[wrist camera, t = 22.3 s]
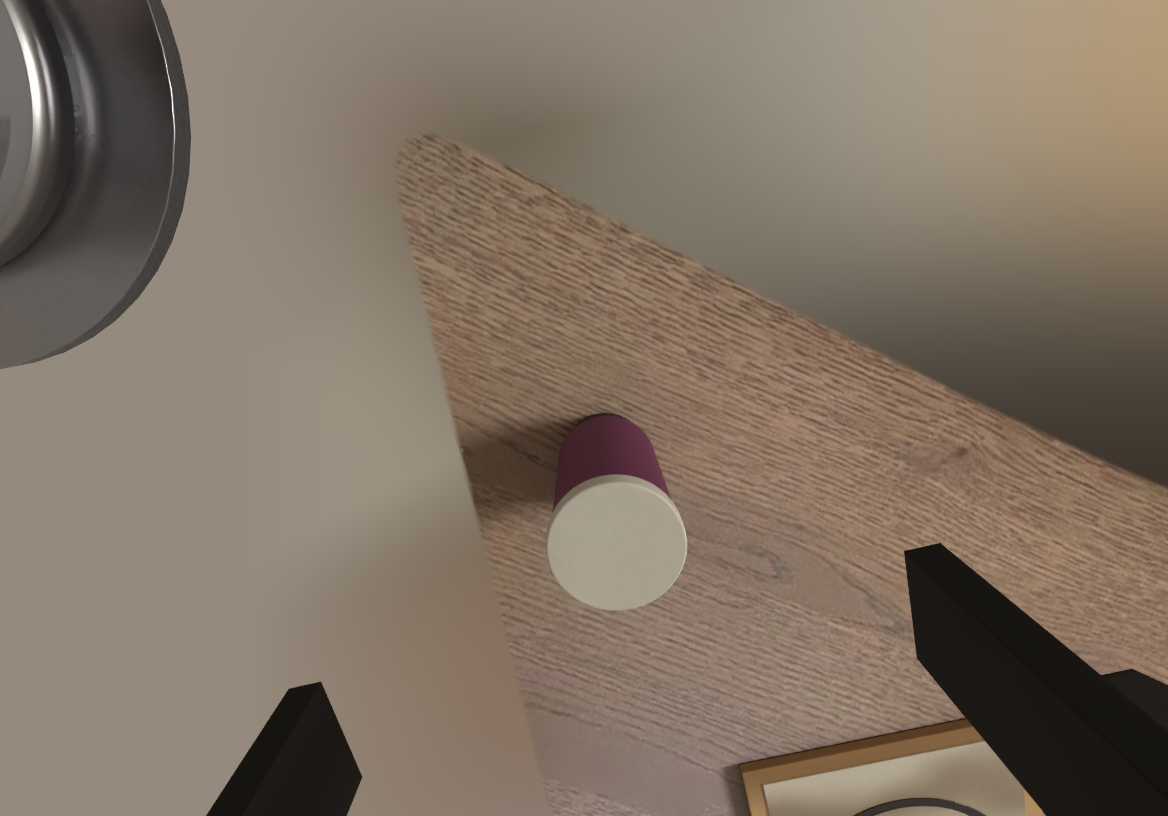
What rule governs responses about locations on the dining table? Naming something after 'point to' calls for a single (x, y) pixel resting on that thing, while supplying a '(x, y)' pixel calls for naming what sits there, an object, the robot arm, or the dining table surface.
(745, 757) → the dining table surface
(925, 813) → the sketch board
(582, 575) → the cylinder
